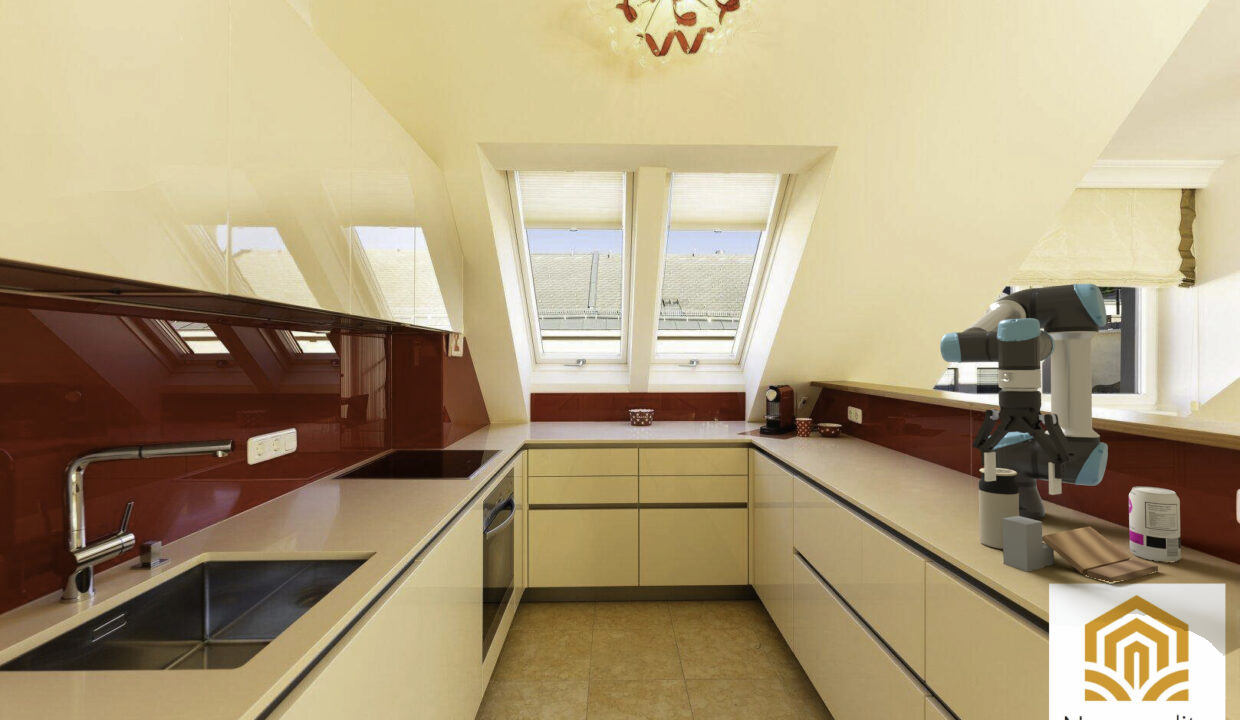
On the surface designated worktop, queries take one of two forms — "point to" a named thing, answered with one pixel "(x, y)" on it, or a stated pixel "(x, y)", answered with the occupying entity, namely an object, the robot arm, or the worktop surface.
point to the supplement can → (1154, 524)
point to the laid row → (1122, 570)
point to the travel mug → (997, 505)
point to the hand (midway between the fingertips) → (1021, 487)
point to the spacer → (1025, 544)
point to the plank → (1085, 549)
